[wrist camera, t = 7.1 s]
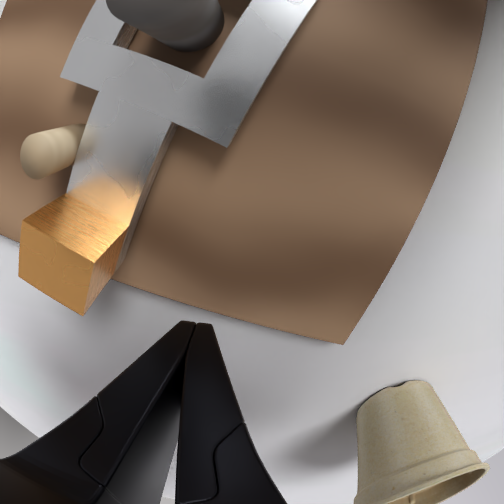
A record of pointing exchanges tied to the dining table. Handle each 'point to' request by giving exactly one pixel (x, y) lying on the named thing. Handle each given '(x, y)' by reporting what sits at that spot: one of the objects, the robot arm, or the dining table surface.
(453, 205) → the dining table surface
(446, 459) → the flower pot
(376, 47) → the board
